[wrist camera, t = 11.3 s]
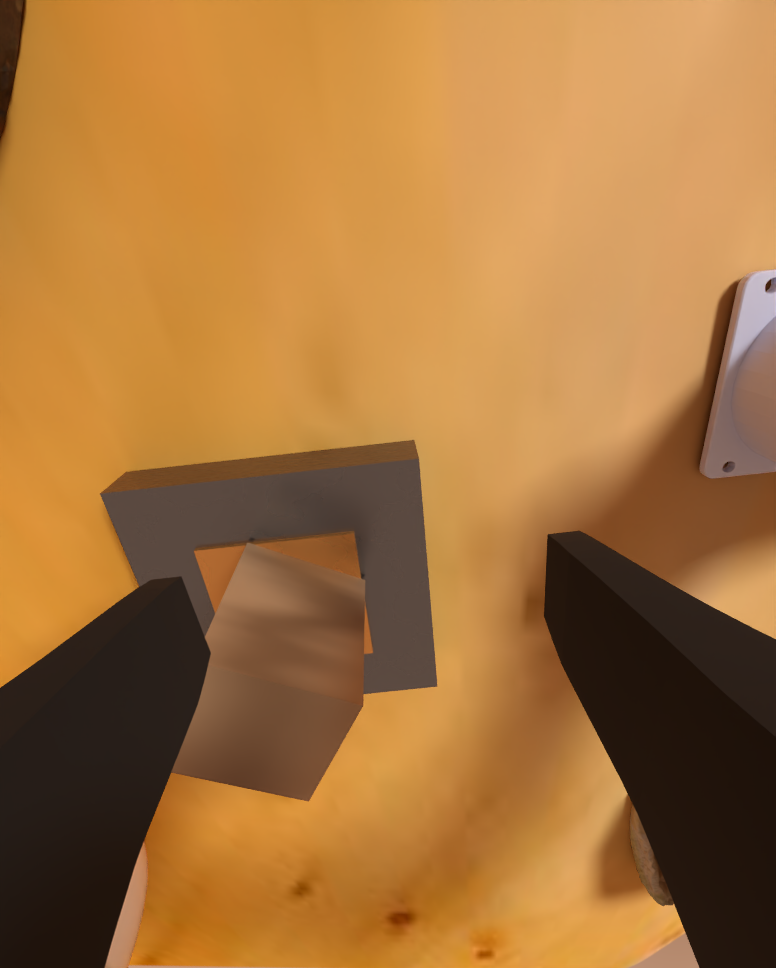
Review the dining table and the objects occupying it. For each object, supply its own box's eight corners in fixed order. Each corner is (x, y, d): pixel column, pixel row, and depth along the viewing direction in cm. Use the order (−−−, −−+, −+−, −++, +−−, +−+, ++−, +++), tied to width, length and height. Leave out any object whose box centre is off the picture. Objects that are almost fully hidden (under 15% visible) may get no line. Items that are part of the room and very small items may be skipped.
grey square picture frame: (414, 440, 19) (419, 460, 17) (432, 654, 24) (437, 690, 22) (126, 472, 19) (97, 496, 17) (206, 678, 24) (191, 715, 22)
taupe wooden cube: (365, 580, 19) (363, 705, 13) (324, 662, 21) (308, 801, 15) (247, 542, 18) (193, 661, 12) (216, 632, 20) (158, 769, 14)
